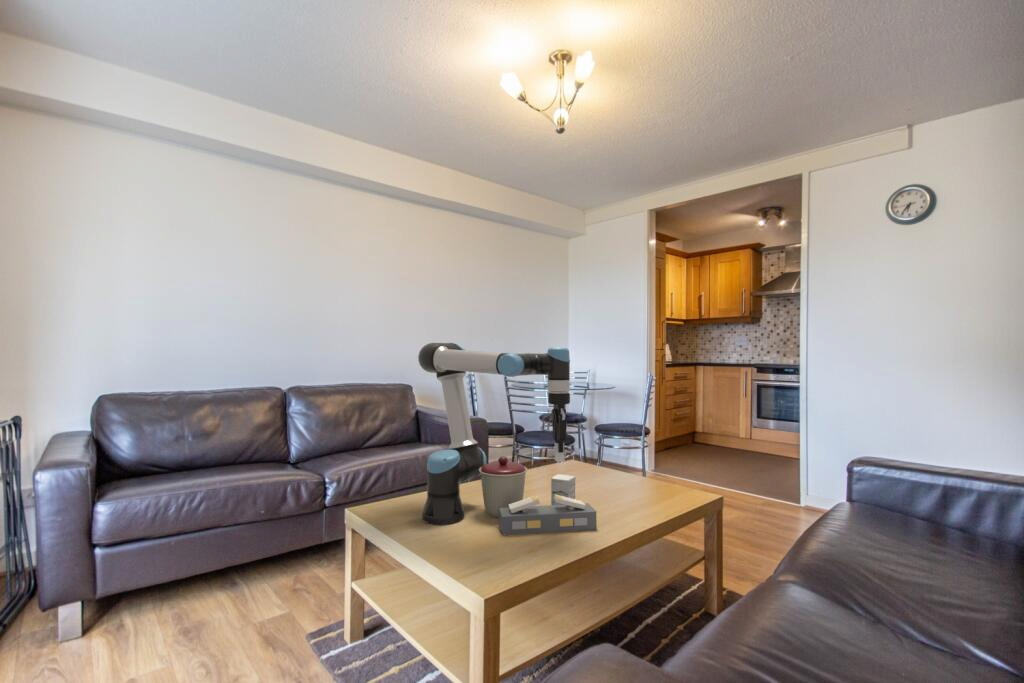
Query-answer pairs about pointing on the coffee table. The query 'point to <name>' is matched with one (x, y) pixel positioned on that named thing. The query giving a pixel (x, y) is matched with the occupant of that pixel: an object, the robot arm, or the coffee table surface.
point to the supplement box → (562, 487)
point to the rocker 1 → (524, 504)
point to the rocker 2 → (569, 501)
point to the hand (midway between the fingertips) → (559, 460)
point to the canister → (502, 484)
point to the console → (547, 519)
